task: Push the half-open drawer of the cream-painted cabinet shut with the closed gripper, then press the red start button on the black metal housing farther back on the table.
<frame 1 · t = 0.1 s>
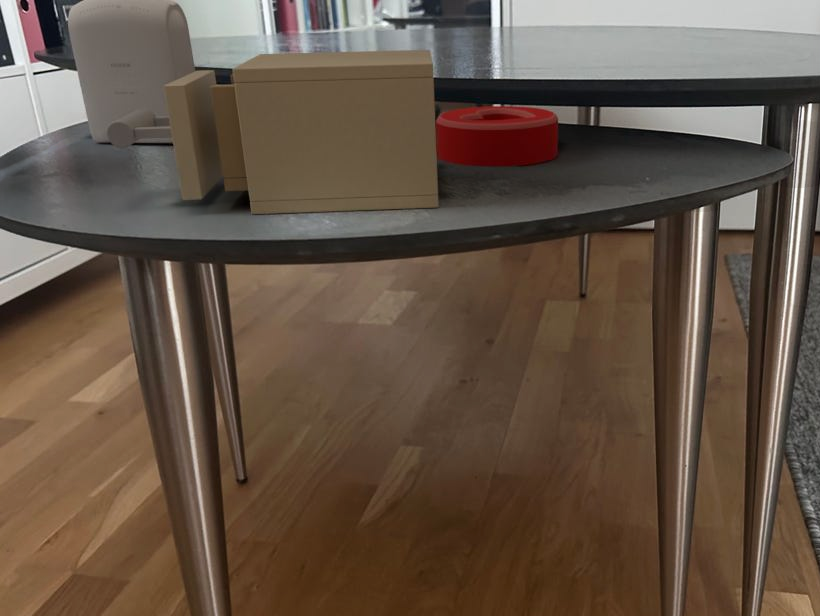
cabinet: (350, 192, 57), on the table
drawer: (238, 131, 55), point 4 cm above the table, slide at 3.0 cm
decorative ornament: (497, 156, 68), on the table
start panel: (278, 137, 77), on the table
button: (273, 92, 76), point 4 cm above the table, slide at 0.1 cm
photo printer: (149, 144, 77), on the table
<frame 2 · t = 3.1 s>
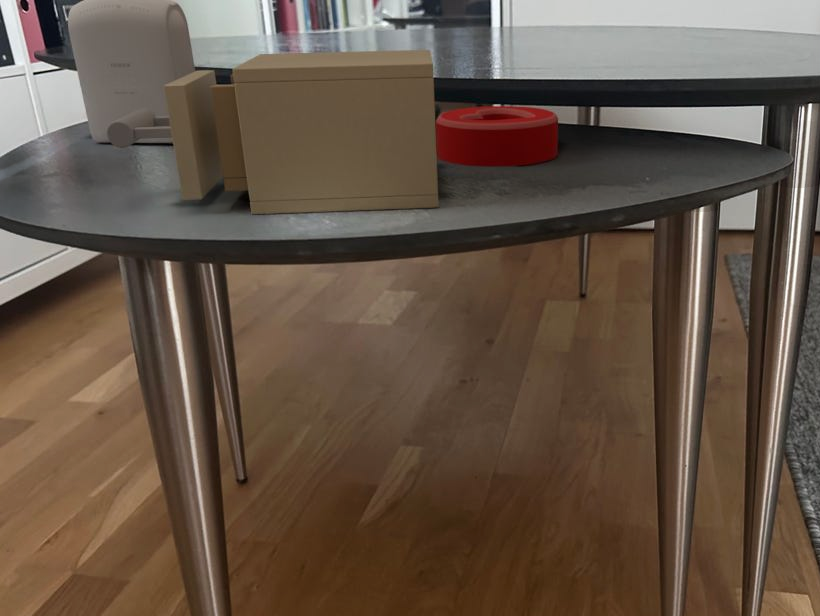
nothing on the table moved.
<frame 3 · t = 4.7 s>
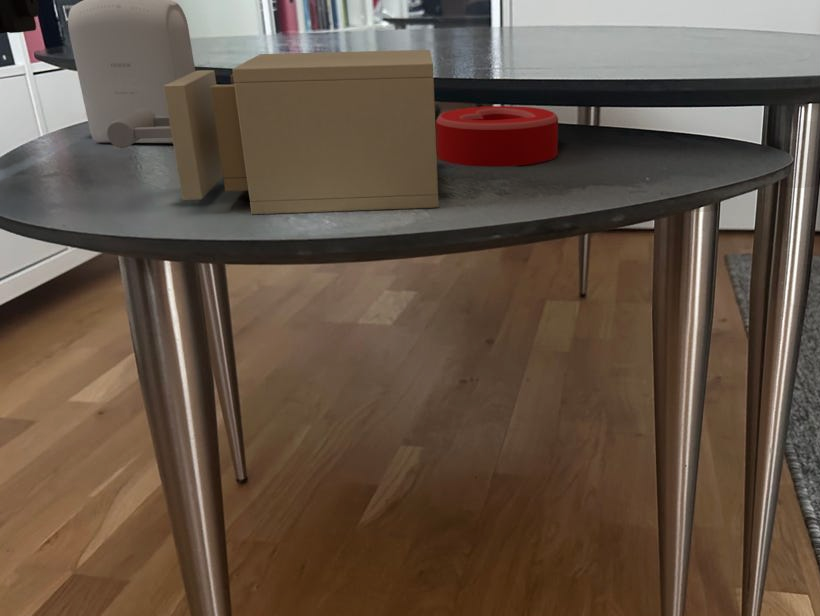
hand: (13, 31, 52), 11 cm above the table, tool pointing down, fingers closed
nothing on the table moved.
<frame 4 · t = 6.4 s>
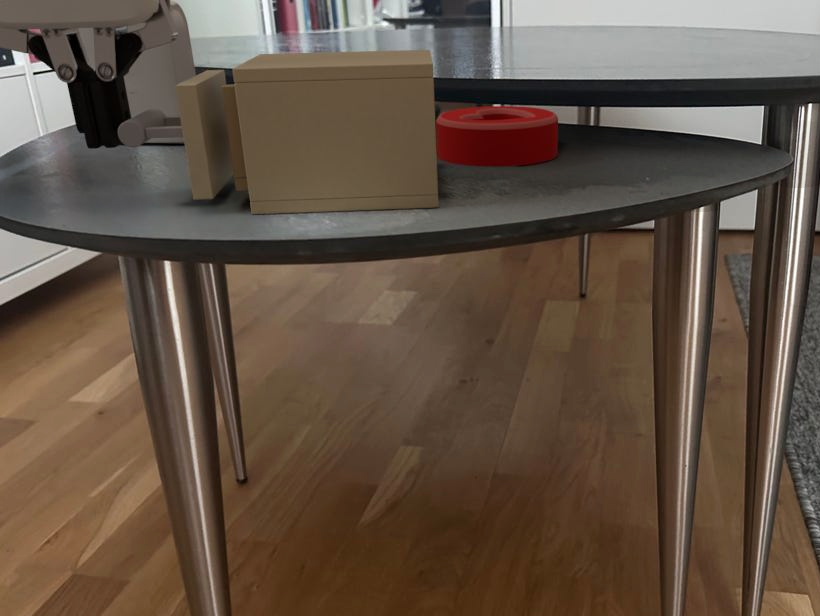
hand: (108, 143, 55), 4 cm above the table, tool pointing down, fingers closed
drawer: (248, 130, 55), point 4 cm above the table, slide at 2.3 cm, touching gripper
everything else where it was.
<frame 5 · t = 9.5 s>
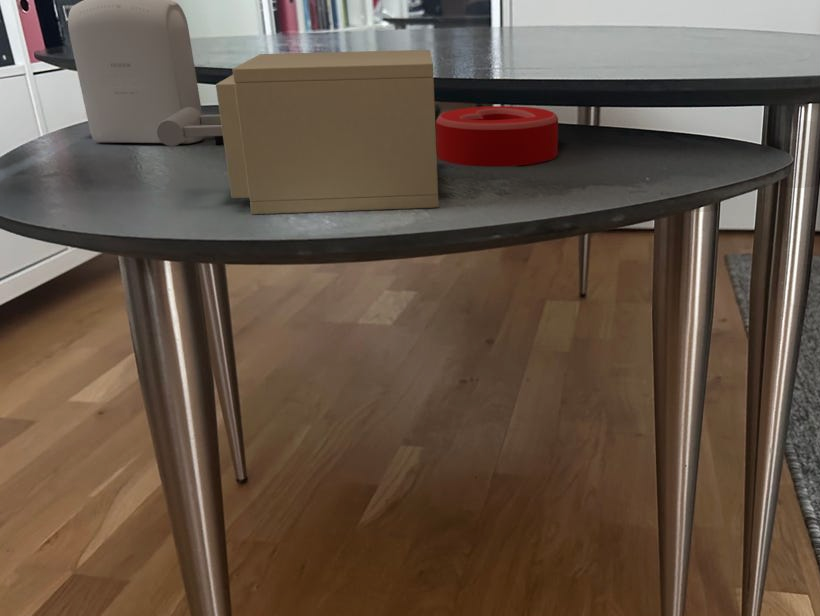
drawer: (285, 129, 55), point 4 cm above the table, slide at 0.0 cm
everything else where it was.
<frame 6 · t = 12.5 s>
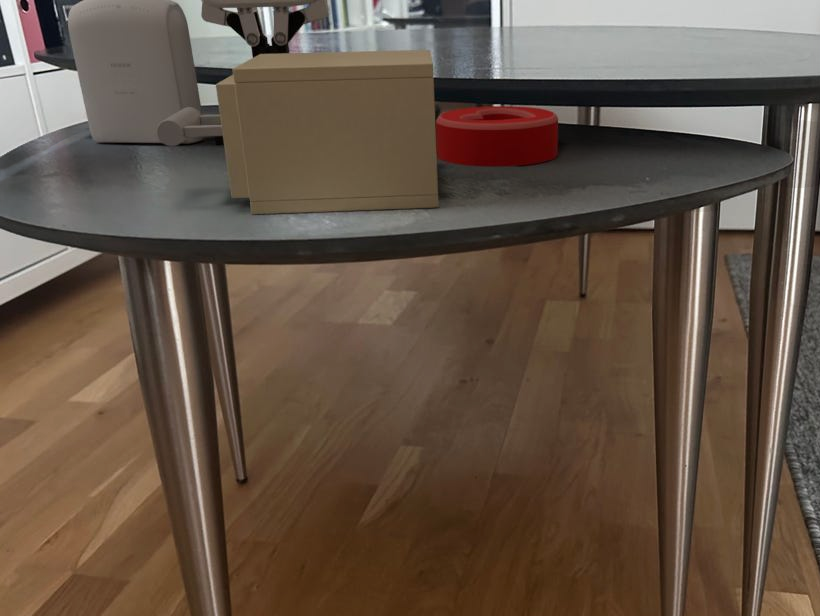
hand: (275, 92, 76), 4 cm above the table, tool pointing down, fingers closed
button: (274, 102, 76), point 3 cm above the table, slide at -0.8 cm, touching gripper
everything else where it was.
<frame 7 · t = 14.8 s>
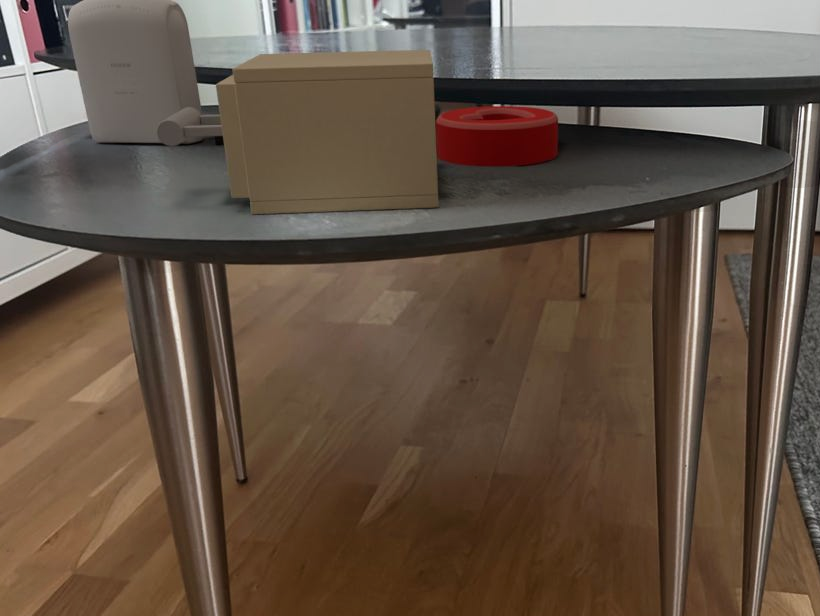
button: (273, 92, 76), point 4 cm above the table, slide at 0.1 cm
everything else where it was.
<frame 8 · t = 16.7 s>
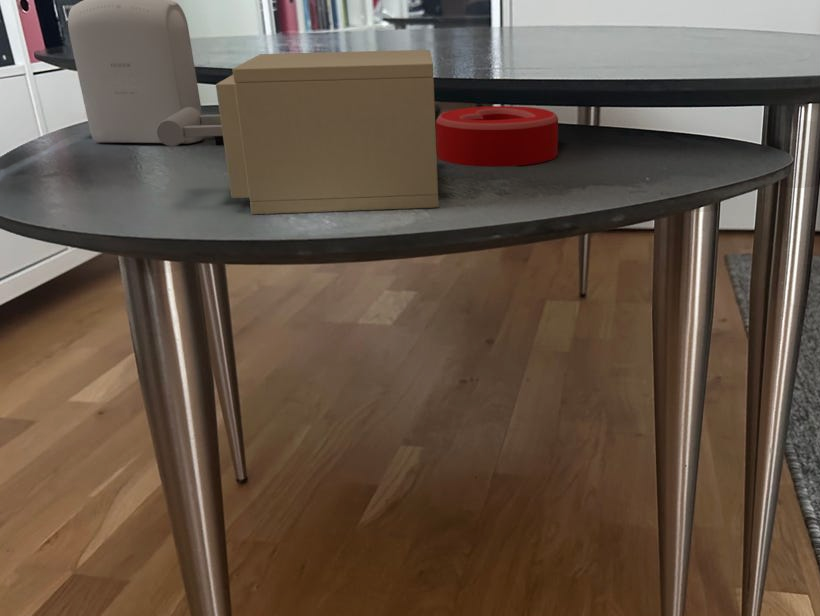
nothing on the table moved.
at the end: drawer slide at 0.0 cm; button pushed in 1.0 cm at the most during the clip, back to where it started at the end; button slide at 0.1 cm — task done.
